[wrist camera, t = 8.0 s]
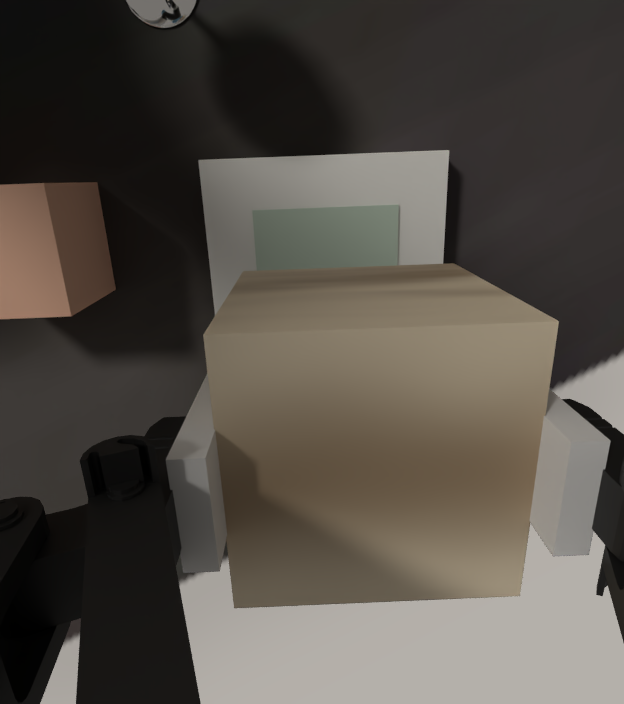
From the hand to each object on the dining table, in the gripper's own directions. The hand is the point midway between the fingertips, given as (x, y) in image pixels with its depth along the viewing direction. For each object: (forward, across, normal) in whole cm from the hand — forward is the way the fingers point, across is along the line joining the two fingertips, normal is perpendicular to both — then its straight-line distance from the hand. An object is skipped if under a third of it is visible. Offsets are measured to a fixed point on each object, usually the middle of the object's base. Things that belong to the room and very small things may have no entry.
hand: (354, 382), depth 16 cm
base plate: (+19, 0, 0) cm, 19 cm away
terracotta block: (+19, -18, +3) cm, 26 cm away
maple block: (+2, 0, 0) cm, 2 cm away
